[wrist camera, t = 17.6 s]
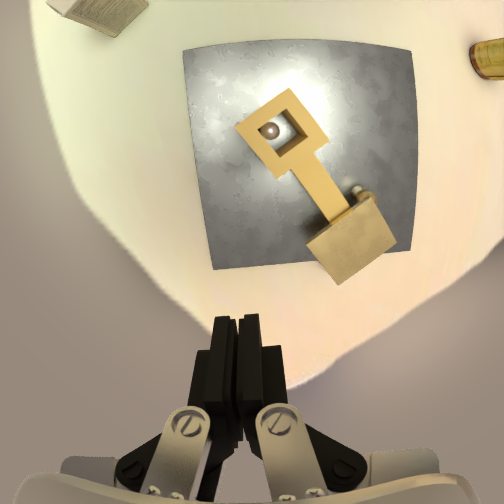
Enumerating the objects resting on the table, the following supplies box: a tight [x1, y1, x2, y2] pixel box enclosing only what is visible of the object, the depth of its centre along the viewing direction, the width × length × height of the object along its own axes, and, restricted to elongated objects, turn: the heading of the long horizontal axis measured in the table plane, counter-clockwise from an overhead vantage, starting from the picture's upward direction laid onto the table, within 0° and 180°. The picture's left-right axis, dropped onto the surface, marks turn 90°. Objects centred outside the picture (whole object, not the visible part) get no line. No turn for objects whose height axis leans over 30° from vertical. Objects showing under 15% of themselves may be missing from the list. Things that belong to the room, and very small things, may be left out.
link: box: [234, 87, 351, 223], centre depth 29 cm, size 18×6×6 cm, turn 39°
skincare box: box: [46, 0, 148, 37], centre depth 17 cm, size 6×4×12 cm
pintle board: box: [183, 39, 418, 285], centre depth 29 cm, size 29×28×6 cm
